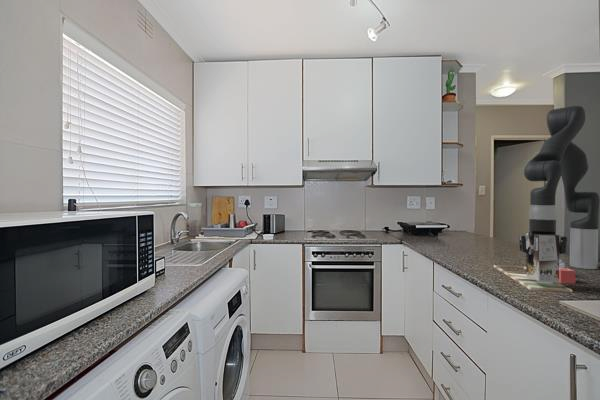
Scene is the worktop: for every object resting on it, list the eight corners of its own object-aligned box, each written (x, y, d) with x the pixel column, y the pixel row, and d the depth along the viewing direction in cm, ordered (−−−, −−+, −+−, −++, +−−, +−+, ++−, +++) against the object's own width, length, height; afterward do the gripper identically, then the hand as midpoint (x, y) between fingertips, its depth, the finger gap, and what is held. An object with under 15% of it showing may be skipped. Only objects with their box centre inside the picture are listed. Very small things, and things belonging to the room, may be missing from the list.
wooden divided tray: (493, 266, 142) (493, 265, 142) (524, 268, 139) (524, 266, 139) (529, 289, 108) (529, 287, 108) (572, 292, 105) (572, 289, 105)
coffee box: (560, 283, 107) (560, 235, 107) (538, 282, 109) (539, 234, 108) (545, 276, 116) (545, 232, 116) (525, 275, 118) (525, 231, 117)
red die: (554, 279, 121) (554, 267, 121) (568, 280, 120) (568, 268, 120) (560, 282, 117) (560, 270, 117) (575, 283, 115) (575, 270, 115)
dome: (536, 265, 133) (537, 254, 133) (558, 266, 131) (558, 255, 131) (546, 269, 126) (546, 257, 126) (568, 270, 124) (568, 258, 124)
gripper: (560, 217, 114) (560, 263, 114) (514, 216, 118) (514, 261, 118) (572, 219, 107) (572, 268, 107) (523, 218, 110) (523, 266, 111)
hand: (542, 264), depth 112 cm, fingers closed on coffee box, 6 cm apart
